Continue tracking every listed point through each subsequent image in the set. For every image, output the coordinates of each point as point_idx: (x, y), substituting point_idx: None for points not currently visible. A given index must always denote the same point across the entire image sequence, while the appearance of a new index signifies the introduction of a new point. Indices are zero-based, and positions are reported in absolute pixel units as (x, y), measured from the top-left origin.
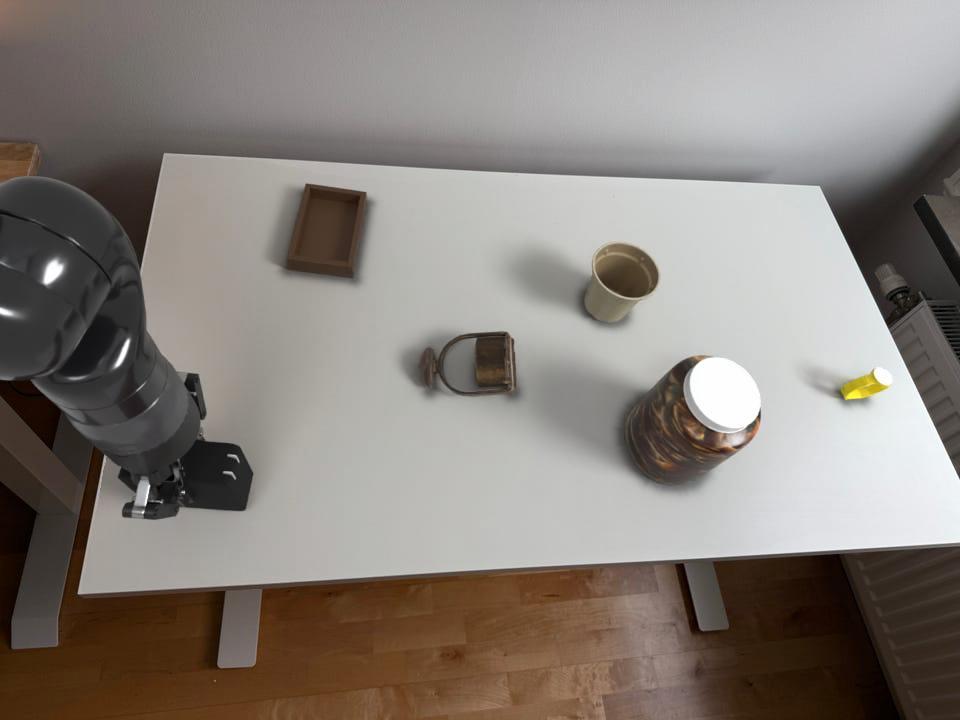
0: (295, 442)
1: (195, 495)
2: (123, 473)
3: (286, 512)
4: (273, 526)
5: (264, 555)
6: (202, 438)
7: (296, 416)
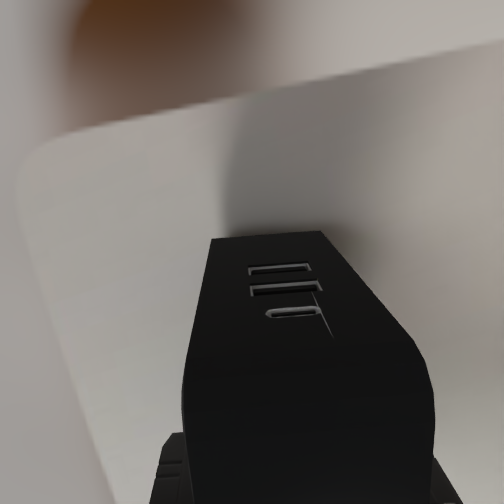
0: None
1: None
2: (200, 423)
3: None
4: None
5: (154, 477)
6: None
7: (472, 458)
